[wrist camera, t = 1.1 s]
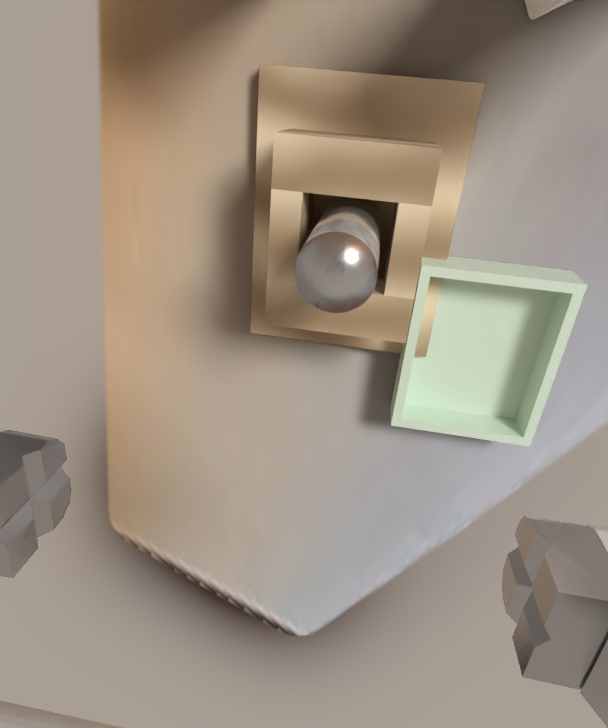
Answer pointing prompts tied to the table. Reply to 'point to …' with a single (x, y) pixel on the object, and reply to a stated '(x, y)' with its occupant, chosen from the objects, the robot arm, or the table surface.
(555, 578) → the robot arm
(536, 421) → the tray
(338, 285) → the steel pin
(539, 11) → the ink cartridge box
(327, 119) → the block
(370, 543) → the table surface
